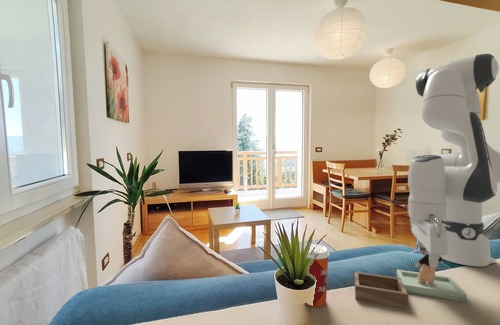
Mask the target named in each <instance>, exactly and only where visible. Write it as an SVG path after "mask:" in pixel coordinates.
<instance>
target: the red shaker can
mask: <svg viewBox="0 0 500 325" xmlns="http://www.w3.org/2000/svg"><path fill="white" fill-rule="evenodd" d="M310 244H311V246H310V250H309V252H308V255H307V258H310V259H314V256H315V255H316V254H319V255H318V256H317V258H316V259H314V262H313V264H312V265H311V266H310V269H309V273H310V274H312V275H313V276H315V278H316V280H317V282H316V288H315V294H314V300H313V306H312V307H313V308H320V307H324V306H325V305H326V303H327V288H328V266H329V264H328V263H329V257H330V253H329V251H328V248H327V247H326V246H324V245H320V244H318V243H317V244H315V243H310ZM304 245H305V246H306V245H307V244H304ZM316 246H317V247H316ZM314 247H315V249H314V252H313V253H312V255H311V251H312V250H313V248H314ZM322 250H323V251H322Z"/></svg>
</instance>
